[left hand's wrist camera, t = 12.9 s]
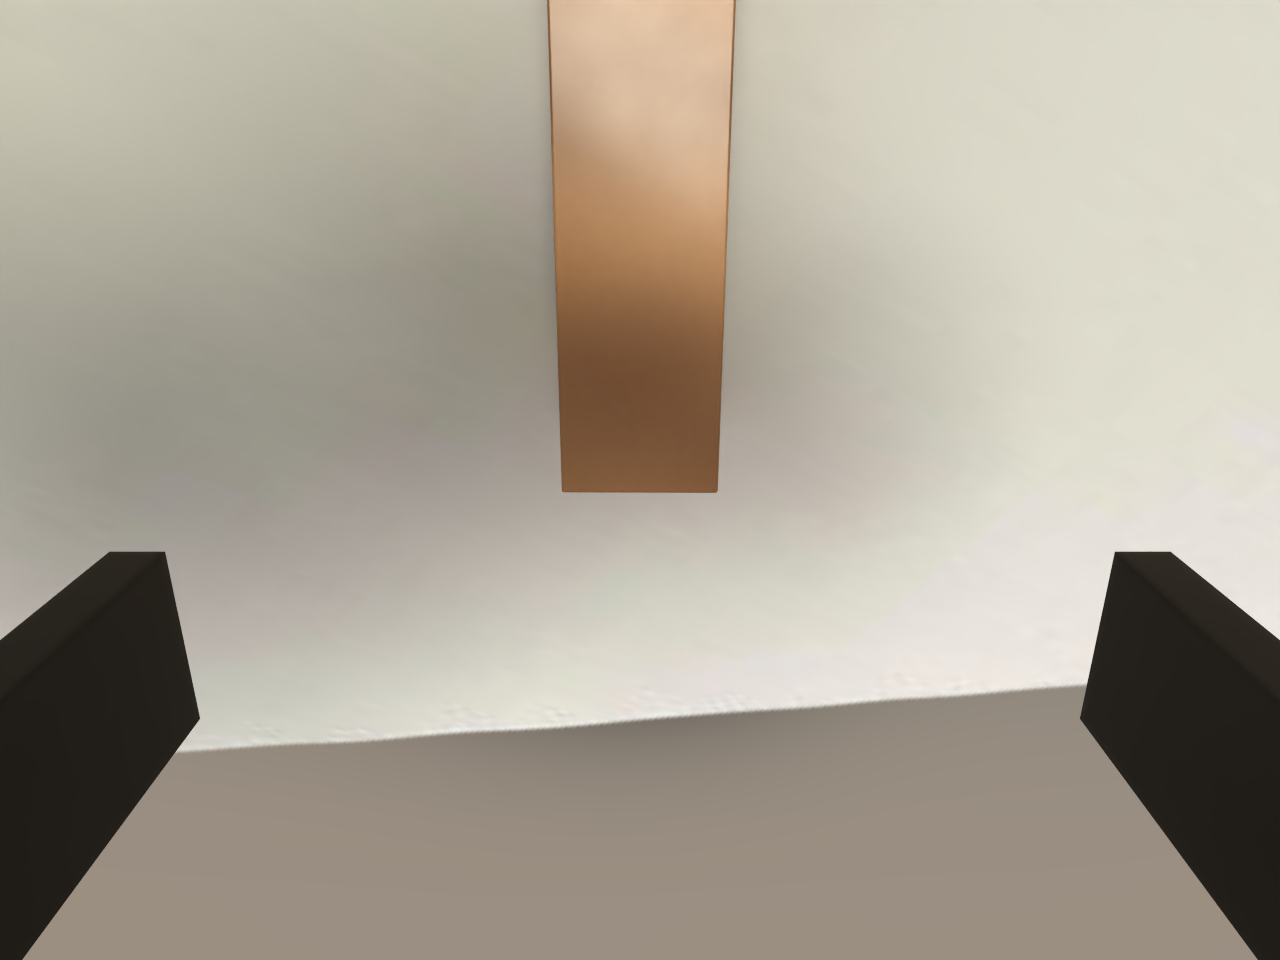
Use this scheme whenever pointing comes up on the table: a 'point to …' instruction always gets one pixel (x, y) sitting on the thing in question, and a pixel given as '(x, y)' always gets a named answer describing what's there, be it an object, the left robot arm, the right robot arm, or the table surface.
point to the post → (640, 238)
